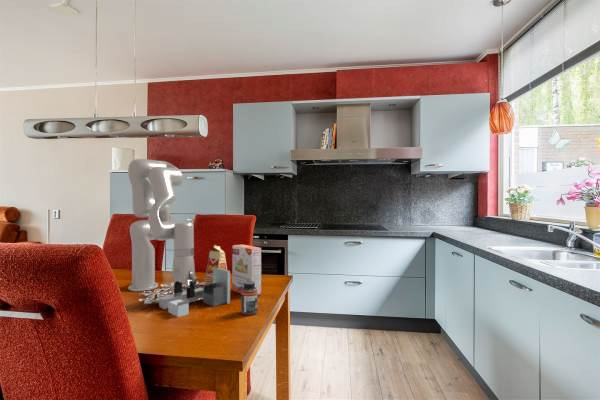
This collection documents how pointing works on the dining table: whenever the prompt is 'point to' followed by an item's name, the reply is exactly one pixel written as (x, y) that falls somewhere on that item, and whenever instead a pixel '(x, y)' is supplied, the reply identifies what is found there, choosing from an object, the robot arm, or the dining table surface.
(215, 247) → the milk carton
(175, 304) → the block
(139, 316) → the dining table surface
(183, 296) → the rail
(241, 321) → the dining table surface
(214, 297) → the cup bracket
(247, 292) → the supplement bottle
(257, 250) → the cracker box
